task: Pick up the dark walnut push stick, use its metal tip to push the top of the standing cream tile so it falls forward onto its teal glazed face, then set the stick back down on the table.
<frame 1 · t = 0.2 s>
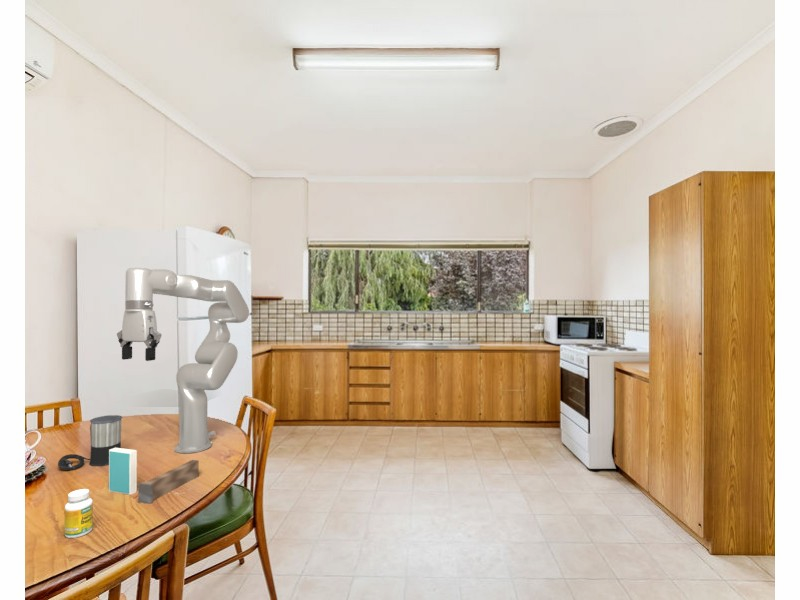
hand: (138, 359, 137), 36 cm above the table, tool pointing down, fingers open, 9 cm apart
push stick: (172, 488, 125), on the table
milk frother: (91, 464, 144), on the table
supplement bottle: (78, 533, 101), on the table
tile: (122, 491, 123), on the table
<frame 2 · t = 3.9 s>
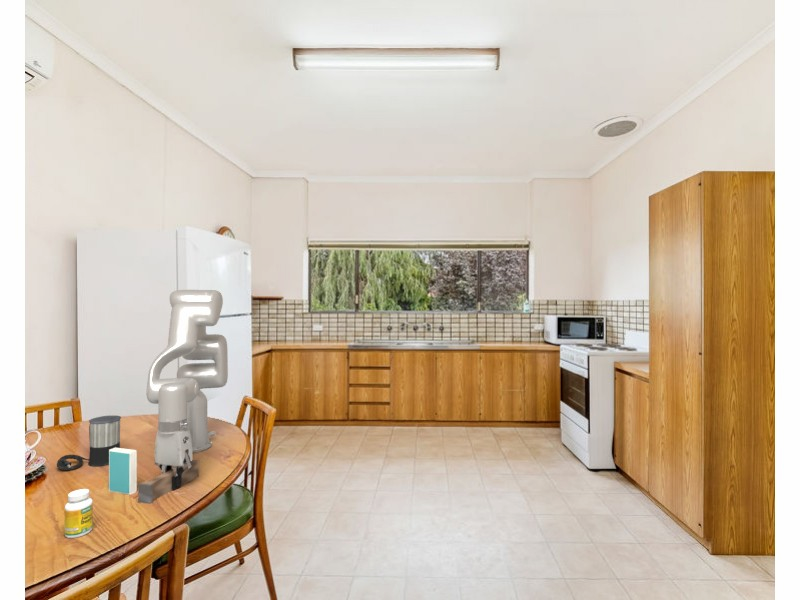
hand: (172, 487, 125), 0 cm above the table, tool pointing down, fingers closed on push stick, 2 cm apart
push stick: (172, 488, 125), on the table, touching gripper
everything else where it was.
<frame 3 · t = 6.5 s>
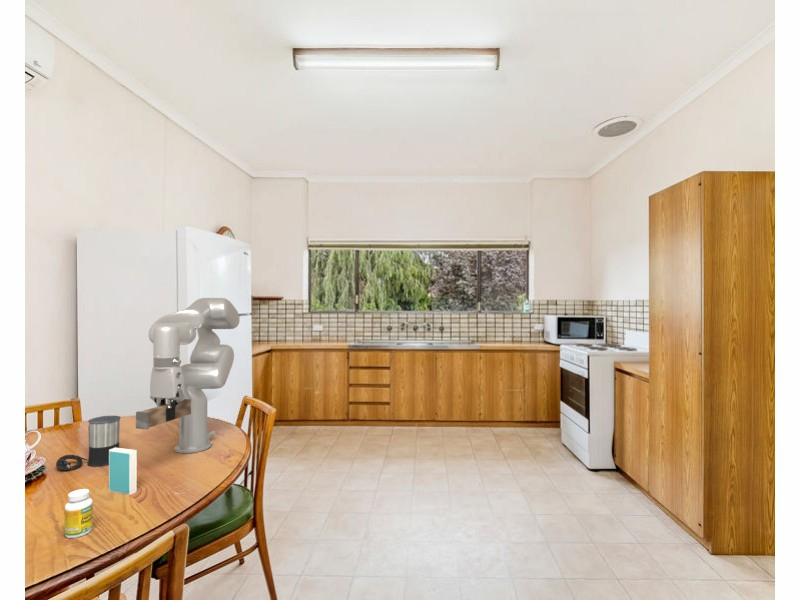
hand: (166, 418, 138), 17 cm above the table, tool pointing down, fingers closed on push stick
push stick: (167, 420, 138), point 16 cm above the table, touching gripper
everything else where it was.
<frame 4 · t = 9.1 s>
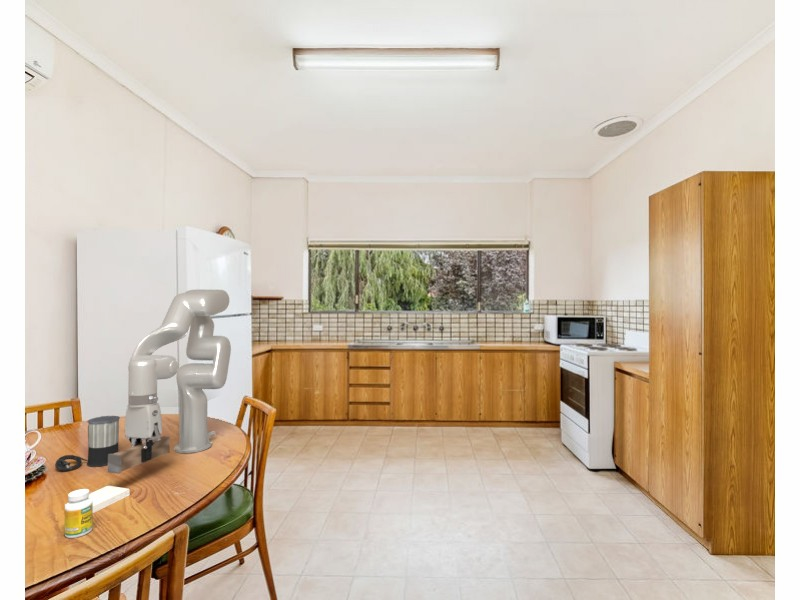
hand: (142, 459, 129), 7 cm above the table, tool pointing down, fingers closed on push stick
push stick: (142, 461, 129), point 6 cm above the table, touching gripper
tile: (118, 490, 122), point 1 cm above the table, tilted 90°
everything else where it was.
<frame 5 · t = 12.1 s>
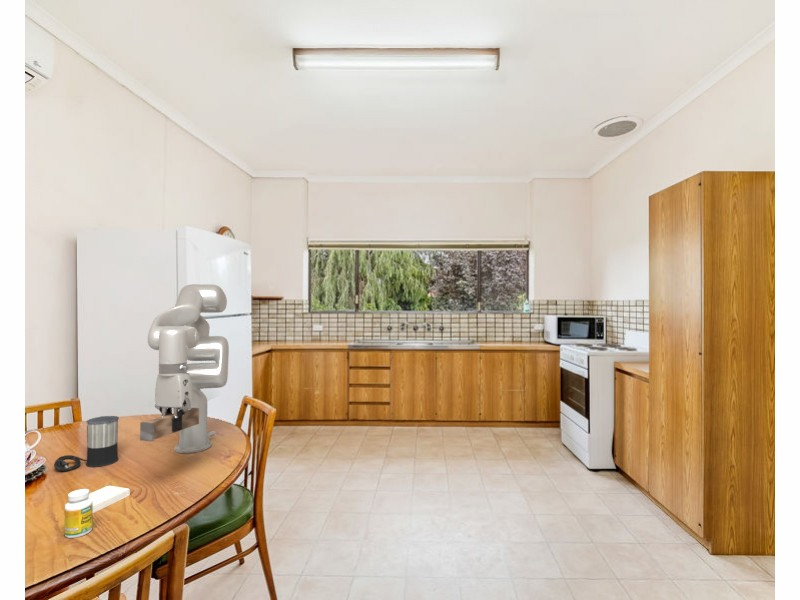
hand: (172, 429, 128), 16 cm above the table, tool pointing down, fingers closed on push stick
push stick: (173, 431, 128), point 16 cm above the table, touching gripper
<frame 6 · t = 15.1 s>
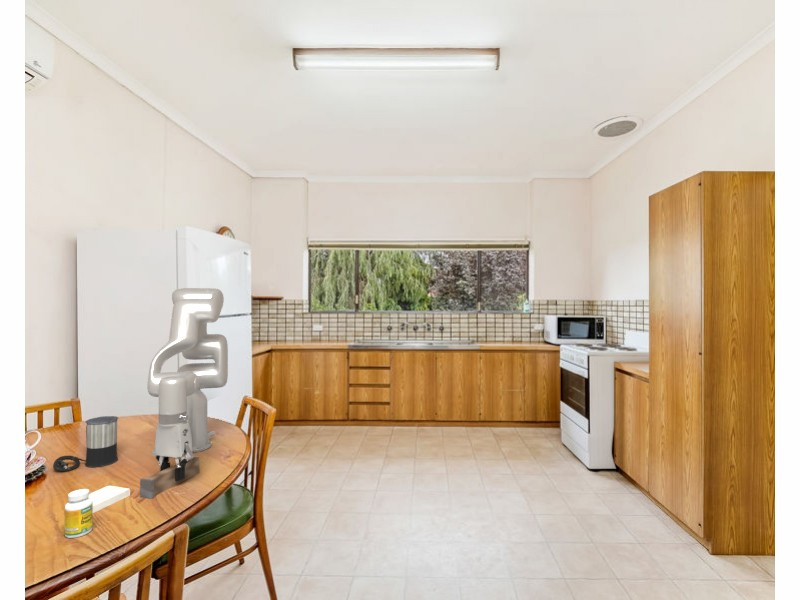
hand: (172, 478, 128), 2 cm above the table, tool pointing down, fingers open, 4 cm apart
push stick: (173, 483, 128), on the table
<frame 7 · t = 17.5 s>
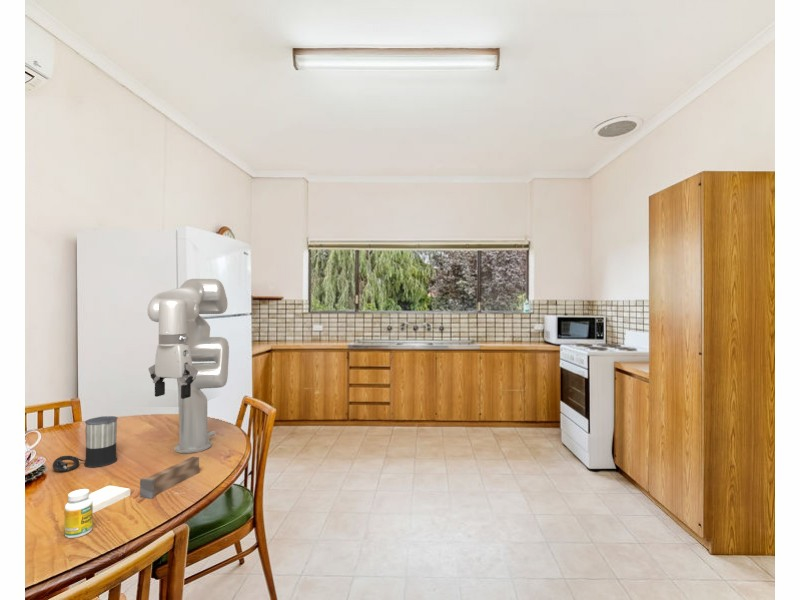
hand: (172, 396, 128), 26 cm above the table, tool pointing down, fingers open, 9 cm apart
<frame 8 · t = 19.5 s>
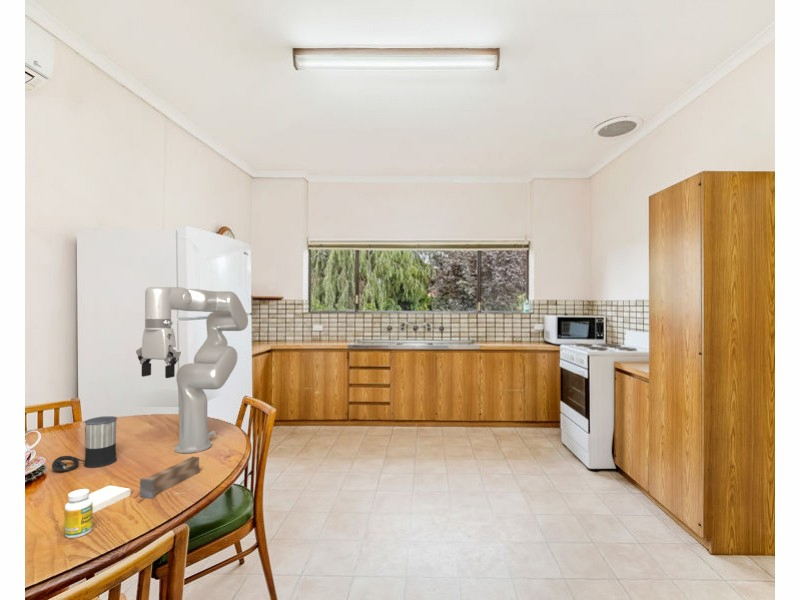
hand: (158, 376, 140), 30 cm above the table, tool pointing down, fingers open, 9 cm apart
at the end: tile tilted 90°; the gripper is holding nothing; push stick touching table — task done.
